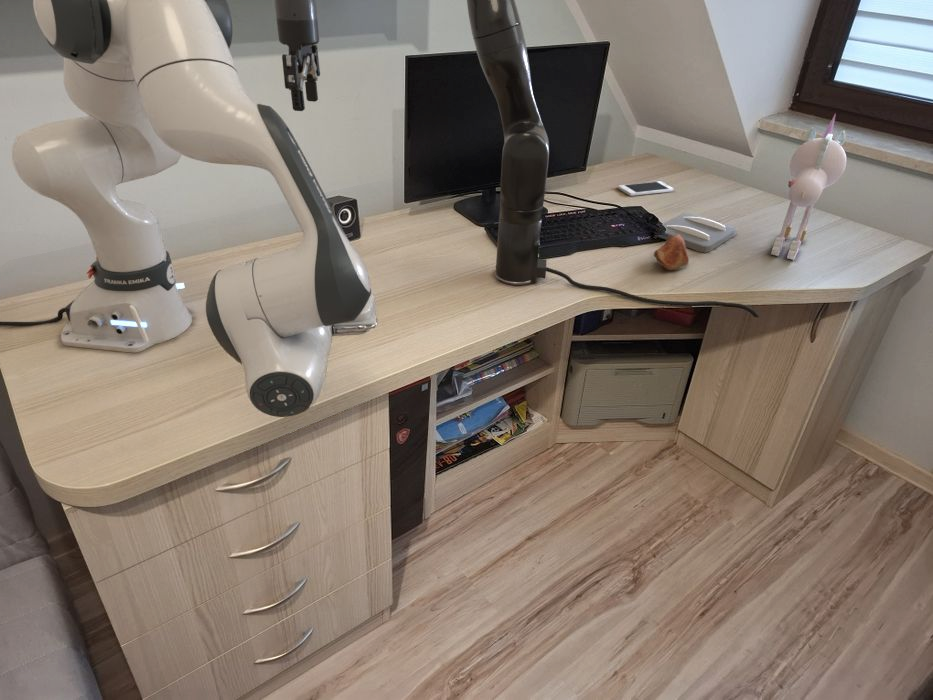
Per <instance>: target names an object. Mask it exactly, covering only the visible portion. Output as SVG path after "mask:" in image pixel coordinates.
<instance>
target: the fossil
mask: <svg viewBox="0 0 933 700" xmlns="http://www.w3.org/2000/svg"><path fill="white" fill-rule="evenodd" d="M653 256H654V258H655V260H656V261H657V262H658V263H659V265H661V266H662V267H663V268H665V269H666V270H667V271H676V270H679V269H681V268H682V267H685V266H686V265H688V264H689V262H690V260H689V259H690V258H689V255H688V252H687V247H686V245H685V241H684V239H683V238H682V236H681V235H680V234H678V235H676V236H672V237H670V238H668V240H665V242H664V244H662V245H661V246H660V247H658V248H657V249H656V250H655V251H654V252H653Z"/></svg>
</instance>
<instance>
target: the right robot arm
mask: <svg viewBox="0 0 933 700" xmlns="http://www.w3.org/2000/svg"><path fill="white" fill-rule="evenodd" d="M466 5H467V13H468V19H469V20H468V21H469V25H470V30H471V35H472V39H473V44H474V46H475V50H476V55H477V57H478V61H479V65H480V67H481V69H482V72H483V74H484V76H485V78H486V81H487V84H488V85H489V87H490V89H491V91H492V93H493V96H494V97H495V100H496V104H497V106H498V111H499V115H500V119H501V124H502V125H501V126H502V131H503V132H502V133H503V139H504V140H503V141H504V142H503V147H502V153H501V169H500V187H499V192H500V194H499V195H500V196H499V197H500V198H499V211H498V228H497V244H496V260H495V270H494V277H495V278H496V280H498V281H499V282H502V283H503V284H508V285H510V286H525V285H530V284H537V279H546V276H547V275H546V274H547V272H548V273H551V274H554V275H556V276H559V277H561V278H563V279H565V280H566V281H567V282H569V284H570V285H573V286H574V287H577V288H580V289H585V290H590V291H591V290H592V291H602V292H603V291H604V292H608V293H612V294H616V295H619V296H622V297H625V298H629V299H631V300H634V301H639V302H642V303H648V304H654V305H660V306H661V305H663V306H678V307H680V306H681V307H697V306H698V307H699V306H715V307H717V306H718V307H726V308H737V309H742V310H745V311H747V312H748V313H750V314H751V315H752V316H753V317H754V318H760V316H759V314H758V313H757V311H756V310H755V309H753V308H752V307H750V306H749V305H746V304H742V303H737V302H724V301H716V300H702V301H700V300H699V301H677V300H676V301H675V300H662V299H654V298H648V297H643V296H639V295H635V294H631V293H629V292H626V291H622V290H619V289H616V288H612V287H607V286H601V285H591V284H590V285H589V284H584V283H580V282H577V281H576V280H573V278H571V277H570V276H569V275H568V274H566V273H564V272H562V271H560V270H557V269H553V268H550V267H548V266H547V265H548V264H547V261H548V260H547V259H542V258H539V257H540V246H541V244H540V243H541V231H542V222H543V221H542V220H543V213H544V212H543V211H544V201H545V194H546V189H547V188H546V187H547V180H548V179H547V178H548V168H549V160H550V159H549V158H550V141H549V137H548V134H547V131H546V129H545V126H544V123H543V121H542V118H541V115H540V112H539V108H538V107H537V106H538V105H537V103H536V100H535V96H534V91H533V86H532V85H533V84H532V77H531V68H530V61H529V55H528V49H527V45H526V44H527V43H526V39H525V34H524V31H523V30H524V29H523V25H522V22H521V18H520V14H519V11H518V7H517V4H516V0H466ZM274 10H275V17H276V27H277V35H278V36H277V37H278V42H279V43H280V44H282V45H286V46H287V47H288V54H287V53H285V54H284V53H282V55H281V59H282V60H281V61H282V71H283V81H284V87H285V89H286V90H289V91H290V96H291V105H292V110H293V111H295V112H303V111H304V110H305V109H306V107H305V97H304V88H305V96H306V101H307V102H314V103H315V102H317V101H318V100H319V95H318V94H319V93H318V85H317V84H318V83H317V82H318V80H319V77H320V76H321V71H320V68H321V67H320V60H319V59H320V58H319V50H318V48H319V47H318V45H317V44H319V42H320V34H319V33H320V32H319V24H318V23H319V22H318V11H317V1H316V0H274ZM304 84H305V85H304ZM304 86H305V87H304Z"/></svg>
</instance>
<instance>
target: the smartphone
mask: <svg viewBox="0 0 933 700" xmlns="http://www.w3.org/2000/svg"><path fill="white" fill-rule="evenodd" d="M617 189H618V190H620V191H621V192H623V193H625V194H627V195H628V196H630V197H633V196H643V195H650V194H651V195H652V194H658V193H659V194H660V193H668V192H673V191H674V187H671V186H670V185H668V184H666V183H665V182H663V181H660V180H658V181H647V182H639V183H638V182H637V183H631V184H630V183H629V184H628V183H627V184H620V185H618V187H617Z"/></svg>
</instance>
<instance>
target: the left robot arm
mask: <svg viewBox="0 0 933 700" xmlns="http://www.w3.org/2000/svg"><path fill="white" fill-rule="evenodd" d="M32 5H33V12H34V16H35V19H36V22H37V24H38V26H39V29H40V30H41V32H42V33H43V34H42V35H44V38H45V40H46V42H47V44H48V45H49V47H50V48H51V49H52V50H54V51H55V52H56V53H58V54H59V55H60V56H61V57H62V58H63V86H64V89H65V92H66V94H67V96H68V98H69V99H70V101H71V102H72V103H73V104H74V105H75V106H76V107H77V108H78V109H79V110H80V111H82V112H83V113H84V114H86V115H87V116H81V117H76V118H70V119H65V120H60V121H59V120H58V121H52V122H48V123H44V124H42V125H39V126H36V127H34V128H31V129H28V130H27V131H24V132H22V133H19V134H18V135H16V137H15V138H14V141H13V144H12V148H11V159H12V164H13V167H14V170H15V171H16V173H17V175H18V177H19V178H20V180H21V181H22V182H23V183H24V184H25V185H26V187H28V188H30V190H32V191H34V192H35V193H37V194H39V195H40V196H43V197H45V198H49V199H51V200H53V201H56V202H58V203H60V204H61V205H63V206H65V207H66V208H68V209H69V210H70V211H71V212H73V213H74V214H75V215H76V216H77V218H78V219H79V220H80V221H81V223H82V224H83V226H84V228H85V229H86V232H87V234H88V236H89V239H90V242H91V243H92V246H93V250H94V252H95V254H96V258H95V261H94V262H92V264H90V268H89V269H88V271H87V272H86V275H88V276H87V279H91V278H92V277H93V278H94V280H93V281H91V282H90V283H89V284H88V285H87V286H86V287H84V289H82V291H80V293H79V294H78V295H77V296H76V297H75V298H74V299H73V300H72V301H71V302H70V303H68V304H67V305H66V306H65V307H63V308H60V309H59V310H58V311H57V316H55V317H54V318H51V319H48V320H43V321H0V327H35V326H40V325H47V324H48V325H49V324H54V323H58V322H60V321H61V320H63V317H64V313H66V317H67V320H68V321H67V322H66V324H65V326H64V327H63V328H62V330H61V331H60V332H61V333H60V340H61V344H62V346H66V347H73V348H84V349H85V348H86V349H93V350H102V351H103V350H105V351H112V352H124V353H134V354H135V353H140V352H143V351H144V350H147V349H148V348H151V347H152V346H154V345H157V344H160V343H164V342H167V341H169V340H172V339H174V338H176V337H178V336H180V335H181V334H183V333H184V332H185V331H186V330H188V329H189V328H190V326H191V325H192V322H193V316H192V314H191V313H190V311H189V309H188V307H187V306H186V305H185V302H184V301H183V299H182V296H181V294H180V291H179V289H185V283H184V282H180V283H179V282H178V283H176V282H177V281H176V273H175V272H176V271H175V268H174V266H173V263H172V259H171V255H170V253H169V252H168V251H167V250H166V245H165V241H164V238H163V234H162V229H161V226H160V222H159V218H158V217H157V215H156V214H155V213H154V211H153V210H152V209H151V208H150V207H148V206H146V205H145V204H142V203H140V202H136V201H133V200H128V199H120V196H119V195H118V193H117V188H116V187H117V186H118V185H121V184H124V183H129V182H132V181H136V180H141V179H144V178H149V177H152V176H155V175H158V174H160V173H162V172H163V171H165V170H167V169H169V168H171V167H173V166H176V165H177V164H178V163H179V162H180V160H181V157H182V156H184V157H186V158H189V159H192V160H195V161H200V162H203V163H208V164H215V165H216V164H217V165H232V166H235V165H236V166H246V167H252V168H253V167H254V168H259V169H262V170H265V171H268V172H269V173H270V175H271V176H272V177H273V179H274V180H275V182H276V183H277V186H278V187H279V189H280V191H281V193H282V195H283V197H284V199H285V201H286V204H287V205H288V207H289V209H290V211H291V212H292V214H293V216H294V218H295V220H296V223H297V224H298V226H299V228H300V230H301V232H302V234H303V239H302V242H300V243H299V244H297V245H296V246H293V247H290V248H287V249H285V250H280V251H277V252H274V253H271V254H268V255H264V256H262V257H255V258H251V259H249V260H245V261H243V262H240V263H236V264H234V265H231V266H228V267H225V268H223V269H219V270H217V271H216V272H215V274H214V275H213V277H212V278H211V281H210V284H209V287H208V291H207V295H206V301H205V315H206V320H207V323H208V325H209V327H210V330H211V333H212V334H213V336H214V338H215V340H216V341H217V343H218V344H219V346H220V347H221V348H222V349H223V350H224V351H225V352H226V353H227V354H228V355H229V356H230V357H231V358H233V359H234V361H236V362H238V363H239V364H240V365H242V367H243V371H244V378H245V390H246V394H247V398H249V401H250V403H251V405H252V406H253V407H254V408H255V409H256V410H258V411H259V412H261V413H262V414H265V415H268V416H271V417H277V418H289V417H293V416H296V415H300V414H302V413H304V412H306V411H308V410H309V409H310V408H311V407H312V406H313V405H314V404H315V403H316V401H317V400H318V398H319V397H320V395H321V393H322V389H323V386H324V383H325V380H326V376H327V370H328V366H329V364H328V363H329V360H328V359H329V356H330V352H331V348H332V347H331V346H332V341H333V337H341V336H342V337H343V336H359V335H364V334H367V333H368V332H370V331H371V330H372V329H375V328H377V325H378V316H377V305H376V303H377V302H376V296H375V294H373V293H372V287H371V279H370V275H369V271H368V269H367V266H366V264H365V262H364V260H363V259H362V257H361V255H360V254H359V252H358V251H357V249H356V248H355V247H354V245H353V244H352V243H351V241H350V239H349V238H348V236H347V235H346V232H345V230H344V229H343V227H342V225H341V224H340V222H339V220H338V217H337V216H336V214H335V212H334V210H333V208H332V206H331V204H330V202H329V200H328V198H327V196H326V195H325V192H324V191H323V189H322V187H321V185H320V183H319V181H318V179H317V177H316V175H315V173H314V171H313V169H312V167H311V166H310V163H309V162H308V160H307V158H306V156H305V154H304V153H303V151H302V149H301V146H300V145H299V143H298V142H297V140H296V138H295V136H294V135H293V133H292V131H291V129H290V128H289V127H288V125H287V124H286V122H285V121H284V119H283V118H282V116H280V115H279V113H278V112H277V111H276V110H275V109H274V108H272V106H270V105H266V104H261V103H258V102H256V101H255V100H254V99H253V98H252V97H251V96H250V94H249V93H248V92H247V90H246V89H245V87H244V85H243V83H242V82H241V79H240V76H239V73H238V70H237V67H236V64H235V60H234V58H233V56H232V53H231V51H230V48H231V47H232V46H231V45H232V41H233V20H232V13H231V10H230V5H229V4H228V1H227V0H32Z"/></svg>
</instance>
